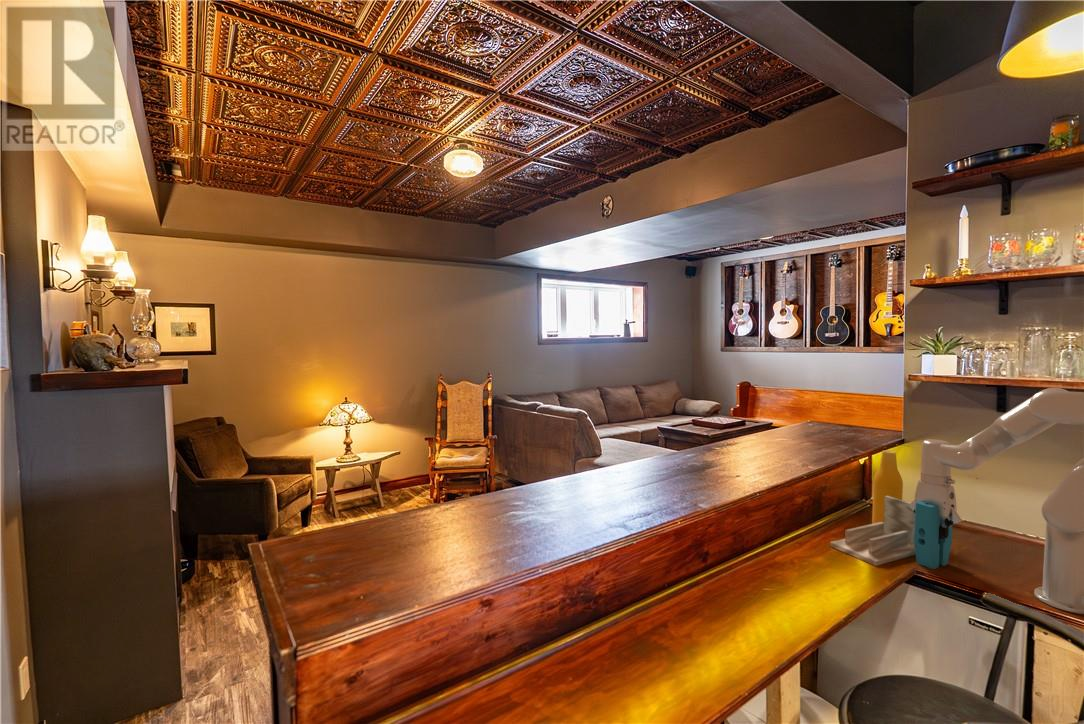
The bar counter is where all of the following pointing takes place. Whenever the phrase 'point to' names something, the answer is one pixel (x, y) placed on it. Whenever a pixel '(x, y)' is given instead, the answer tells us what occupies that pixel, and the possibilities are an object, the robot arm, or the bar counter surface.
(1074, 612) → the robot arm
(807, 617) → the bar counter surface
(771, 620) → the bar counter surface
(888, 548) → the book stand
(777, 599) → the bar counter surface
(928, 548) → the block
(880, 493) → the beer bottle
